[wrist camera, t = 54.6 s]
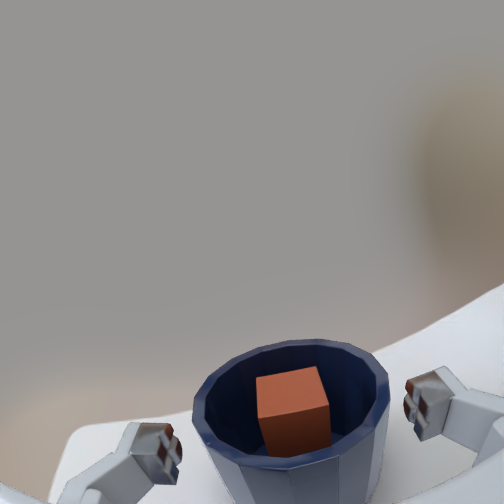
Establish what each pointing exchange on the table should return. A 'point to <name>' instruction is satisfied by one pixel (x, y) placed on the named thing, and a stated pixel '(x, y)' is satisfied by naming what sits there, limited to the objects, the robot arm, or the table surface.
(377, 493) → the table surface
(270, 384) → the block
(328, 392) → the canister
